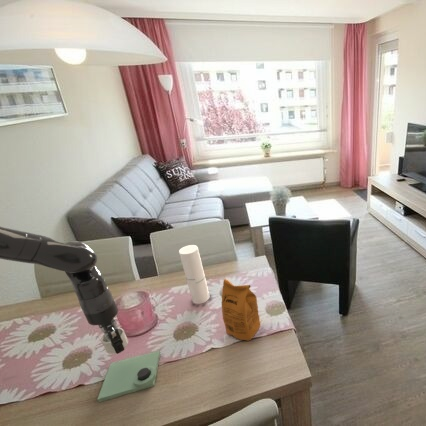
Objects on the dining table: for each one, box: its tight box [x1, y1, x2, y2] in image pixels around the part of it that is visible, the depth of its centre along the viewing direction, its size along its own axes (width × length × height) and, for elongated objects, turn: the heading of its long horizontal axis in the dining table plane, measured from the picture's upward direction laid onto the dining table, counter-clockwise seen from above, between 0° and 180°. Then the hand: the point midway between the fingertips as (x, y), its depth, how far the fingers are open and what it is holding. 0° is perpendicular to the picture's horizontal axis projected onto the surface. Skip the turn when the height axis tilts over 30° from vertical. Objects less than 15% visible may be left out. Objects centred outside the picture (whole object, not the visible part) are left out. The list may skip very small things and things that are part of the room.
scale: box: [97, 350, 161, 403], centre depth 94 cm, size 16×14×3 cm
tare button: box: [137, 368, 150, 381], centre depth 91 cm, size 3×3×2 cm
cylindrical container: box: [178, 244, 210, 305], centre depth 123 cm, size 7×7×25 cm
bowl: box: [100, 327, 129, 355], centre depth 91 cm, size 6×6×5 cm
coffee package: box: [221, 278, 261, 342], centre depth 106 cm, size 10×12×22 cm
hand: (116, 345), depth 92 cm, fingers closed on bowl, 6 cm apart
